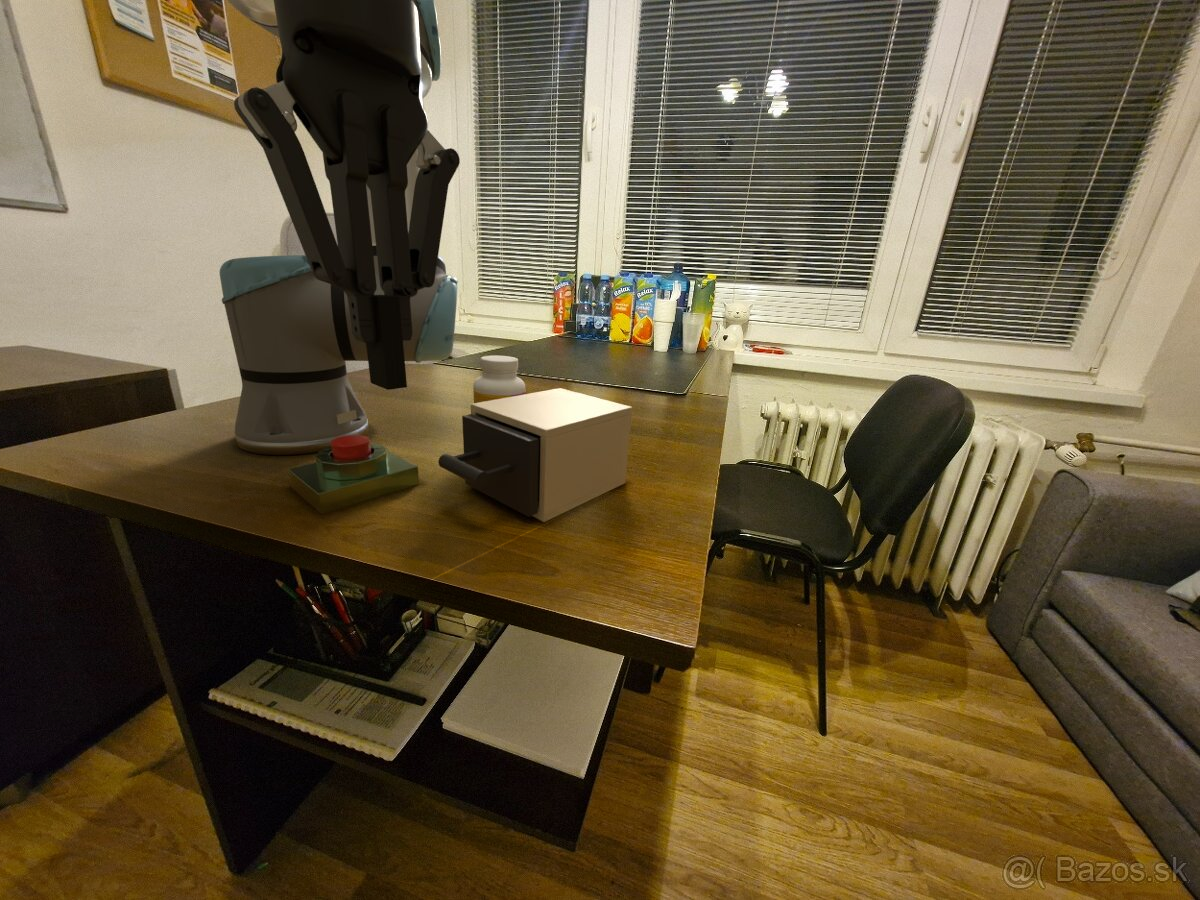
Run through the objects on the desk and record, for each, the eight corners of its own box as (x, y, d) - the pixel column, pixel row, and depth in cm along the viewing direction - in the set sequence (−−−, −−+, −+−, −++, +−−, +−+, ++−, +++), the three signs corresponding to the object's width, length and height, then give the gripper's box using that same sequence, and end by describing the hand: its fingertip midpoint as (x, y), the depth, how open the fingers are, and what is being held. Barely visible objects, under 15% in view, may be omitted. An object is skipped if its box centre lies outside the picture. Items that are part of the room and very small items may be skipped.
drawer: (492, 534, 39) (490, 452, 36) (428, 495, 45) (423, 423, 42) (608, 481, 51) (614, 417, 49) (546, 456, 57) (548, 398, 55)
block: (291, 487, 47) (284, 452, 45) (384, 464, 54) (381, 433, 53) (321, 514, 42) (314, 476, 41) (419, 484, 49) (416, 451, 48)
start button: (327, 455, 46) (325, 439, 46) (362, 447, 49) (360, 432, 48) (342, 464, 44) (339, 448, 44) (377, 456, 47) (376, 440, 46)
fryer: (544, 522, 43) (546, 430, 40) (473, 485, 50) (470, 403, 47) (625, 483, 53) (632, 406, 50) (557, 456, 60) (559, 387, 57)
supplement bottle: (514, 464, 56) (513, 364, 52) (466, 457, 57) (462, 359, 53) (531, 447, 63) (533, 357, 58) (488, 441, 64) (486, 352, 59)
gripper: (220, -135, 18) (313, 410, 27) (481, 19, 28) (489, 384, 36) (181, -63, 23) (271, 386, 31) (418, 49, 32) (438, 368, 41)
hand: (388, 384), depth 34 cm, fingers closed
